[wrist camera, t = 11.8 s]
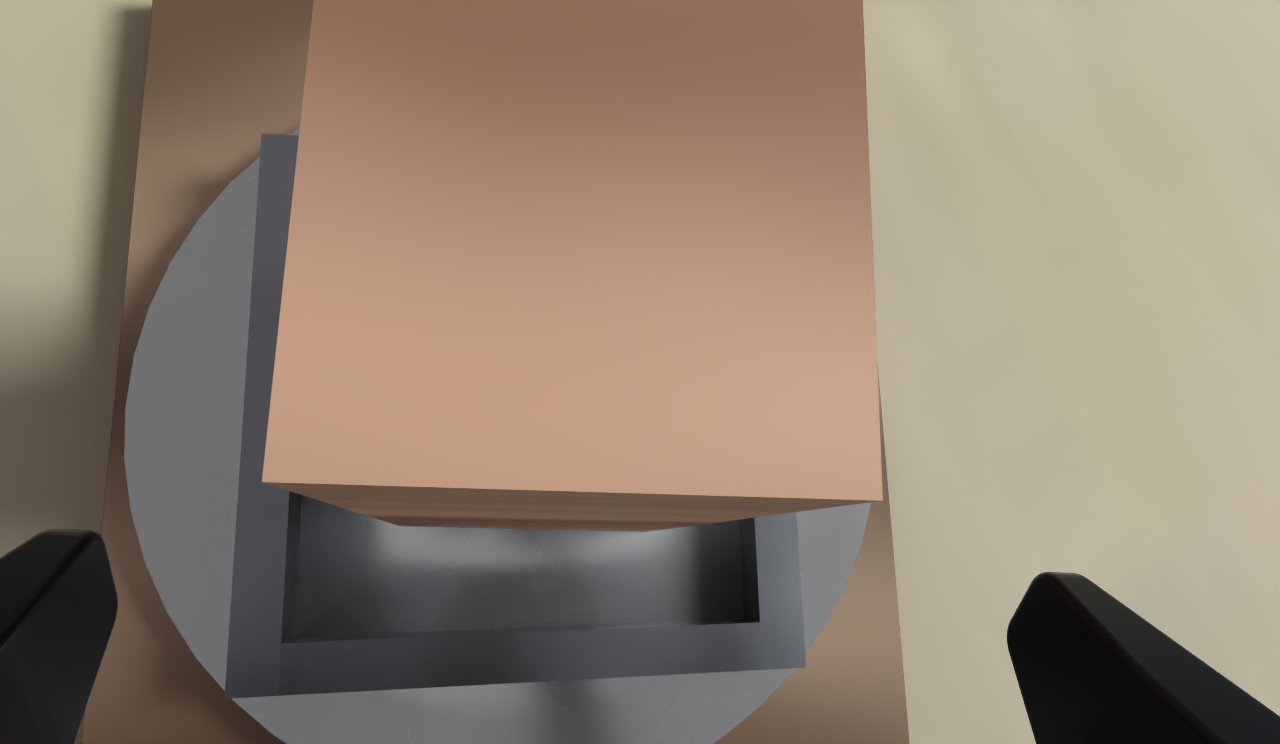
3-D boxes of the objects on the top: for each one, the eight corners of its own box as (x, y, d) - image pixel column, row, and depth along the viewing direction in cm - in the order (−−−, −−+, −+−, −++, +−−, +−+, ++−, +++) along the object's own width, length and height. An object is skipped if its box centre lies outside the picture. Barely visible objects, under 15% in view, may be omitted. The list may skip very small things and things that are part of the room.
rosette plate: (887, 767, 17) (933, 792, 15) (105, 827, 14) (54, 865, 13) (835, 110, 20) (869, 67, 18) (173, 67, 17) (138, 13, 16)
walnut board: (896, 860, 18) (920, 877, 17) (87, 938, 15) (59, 964, 14) (833, 56, 21) (849, 33, 20) (172, 6, 19) (155, -24, 18)
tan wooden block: (646, 531, 16) (883, 500, 7) (400, 525, 16) (261, 482, 6) (650, 301, 17) (862, -20, 8) (418, 285, 16) (323, -92, 7)
